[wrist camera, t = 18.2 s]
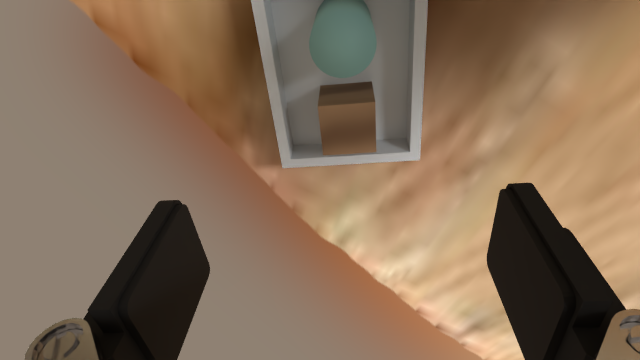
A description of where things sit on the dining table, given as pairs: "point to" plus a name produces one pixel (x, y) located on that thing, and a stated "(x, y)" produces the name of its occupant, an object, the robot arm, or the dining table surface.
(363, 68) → the teal rounded capsule
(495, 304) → the dining table surface
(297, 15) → the grey tote
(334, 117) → the walnut cube
